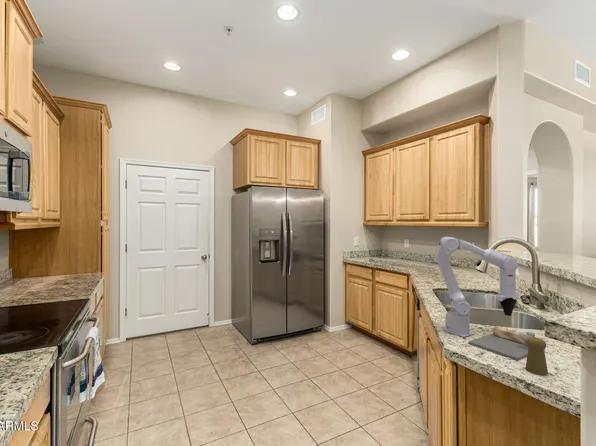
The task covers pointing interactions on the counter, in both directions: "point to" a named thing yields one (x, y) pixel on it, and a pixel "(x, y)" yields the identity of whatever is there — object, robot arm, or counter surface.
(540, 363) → the cork
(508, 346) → the base plate
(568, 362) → the counter surface
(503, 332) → the link
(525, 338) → the keeper
